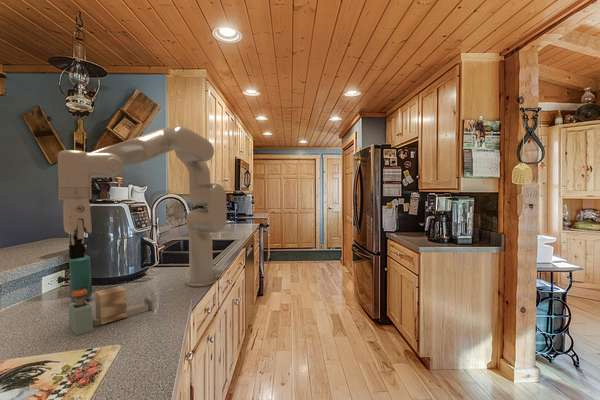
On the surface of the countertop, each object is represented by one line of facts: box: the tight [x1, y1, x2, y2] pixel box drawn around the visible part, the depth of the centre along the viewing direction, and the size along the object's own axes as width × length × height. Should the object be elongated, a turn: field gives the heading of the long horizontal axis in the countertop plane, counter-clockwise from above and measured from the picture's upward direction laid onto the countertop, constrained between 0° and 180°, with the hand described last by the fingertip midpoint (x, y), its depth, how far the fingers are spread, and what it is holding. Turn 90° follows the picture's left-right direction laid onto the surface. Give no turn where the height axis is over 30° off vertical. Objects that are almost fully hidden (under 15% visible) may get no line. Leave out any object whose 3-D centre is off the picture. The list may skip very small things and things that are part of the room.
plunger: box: [72, 289, 87, 308], centre depth 87 cm, size 4×4×6 cm
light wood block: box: [94, 285, 128, 326], centre depth 94 cm, size 7×5×9 cm
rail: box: [92, 297, 153, 328], centre depth 96 cm, size 16×4×3 cm, turn 138°
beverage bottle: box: [68, 245, 93, 301], centre depth 108 cm, size 6×7×20 cm
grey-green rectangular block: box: [68, 299, 94, 337], centre depth 88 cm, size 4×8×7 cm, turn 48°
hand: (76, 258), depth 86 cm, fingers closed
